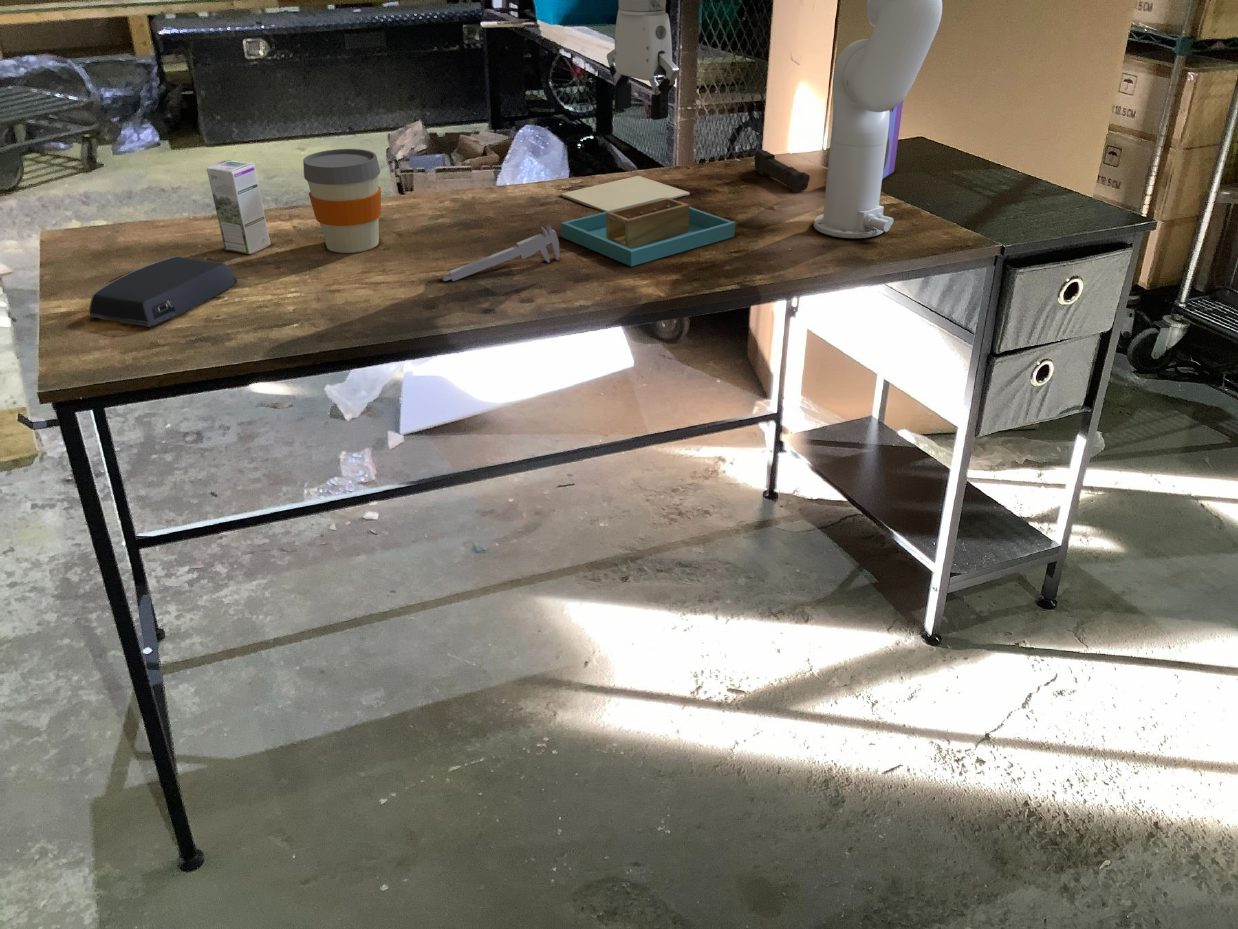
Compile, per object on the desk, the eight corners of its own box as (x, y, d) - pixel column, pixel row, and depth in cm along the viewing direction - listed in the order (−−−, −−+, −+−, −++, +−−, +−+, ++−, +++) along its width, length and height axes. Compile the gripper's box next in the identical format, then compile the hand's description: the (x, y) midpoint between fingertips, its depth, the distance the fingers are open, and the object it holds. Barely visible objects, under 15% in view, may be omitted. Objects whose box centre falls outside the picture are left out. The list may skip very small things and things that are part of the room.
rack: (688, 232, 182) (689, 204, 179) (627, 249, 175) (627, 220, 172) (666, 224, 186) (667, 196, 183) (606, 240, 179) (605, 212, 176)
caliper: (557, 259, 171) (555, 222, 168) (559, 261, 170) (558, 224, 167) (442, 280, 163) (438, 242, 160) (444, 283, 162) (440, 245, 159)
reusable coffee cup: (403, 243, 179) (393, 156, 171) (342, 261, 171) (328, 171, 163) (361, 227, 186) (350, 144, 178) (301, 245, 178) (286, 158, 171)
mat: (689, 194, 202) (689, 192, 202) (610, 214, 192) (610, 212, 191) (638, 177, 213) (638, 175, 213) (560, 195, 203) (560, 193, 202)
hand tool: (809, 191, 203) (811, 168, 201) (791, 193, 202) (793, 170, 200) (766, 168, 219) (768, 146, 216) (749, 170, 218) (751, 147, 215)
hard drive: (85, 318, 151) (77, 292, 149) (177, 274, 166) (172, 250, 164) (154, 331, 147) (147, 304, 145) (242, 285, 162) (237, 260, 160)
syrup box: (272, 244, 179) (256, 161, 171) (248, 255, 174) (231, 170, 167) (247, 240, 181) (230, 158, 173) (223, 251, 176) (204, 166, 169)
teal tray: (734, 237, 180) (735, 222, 179) (631, 267, 168) (631, 251, 166) (662, 211, 193) (662, 197, 192) (561, 237, 181) (560, 222, 179)
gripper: (695, 6, 158) (691, 119, 167) (626, -5, 170) (626, 102, 179) (658, 10, 154) (656, 126, 163) (590, -2, 166) (592, 107, 175)
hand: (640, 113), depth 171 cm, fingers open, 9 cm apart
